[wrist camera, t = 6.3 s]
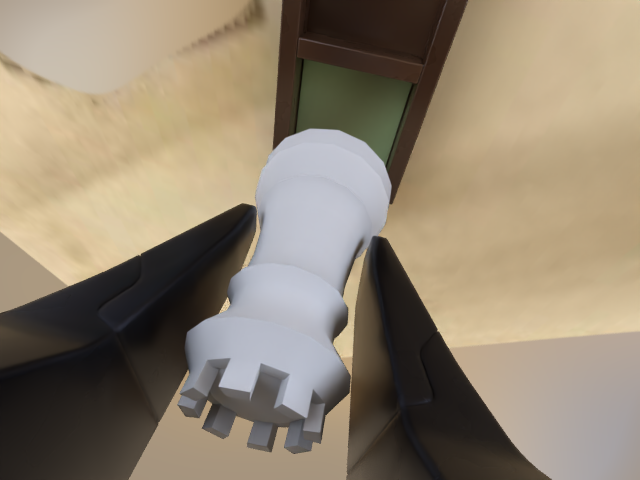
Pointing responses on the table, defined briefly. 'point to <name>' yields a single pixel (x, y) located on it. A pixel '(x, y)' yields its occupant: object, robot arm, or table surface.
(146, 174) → the table surface
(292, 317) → the rook chess piece
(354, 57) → the tray
